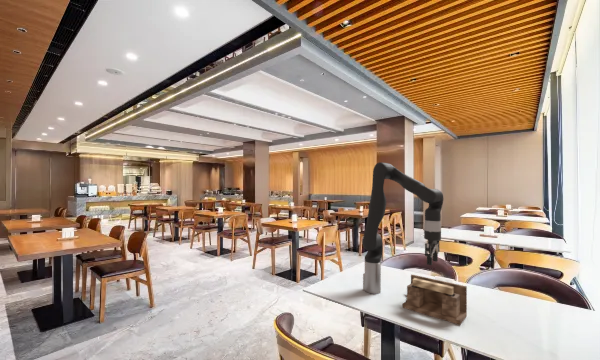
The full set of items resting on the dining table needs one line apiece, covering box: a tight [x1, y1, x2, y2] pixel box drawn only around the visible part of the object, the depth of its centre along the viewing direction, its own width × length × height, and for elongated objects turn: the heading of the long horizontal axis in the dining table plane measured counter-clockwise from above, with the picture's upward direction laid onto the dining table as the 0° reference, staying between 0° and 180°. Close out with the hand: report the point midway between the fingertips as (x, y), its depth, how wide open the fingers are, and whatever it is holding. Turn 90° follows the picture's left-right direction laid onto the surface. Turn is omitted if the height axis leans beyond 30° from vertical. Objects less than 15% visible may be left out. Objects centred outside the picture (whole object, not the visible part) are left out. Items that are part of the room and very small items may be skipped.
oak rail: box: [413, 278, 454, 297], centre depth 137 cm, size 18×3×8 cm, turn 48°
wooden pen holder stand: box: [402, 274, 468, 326], centre depth 138 cm, size 26×12×14 cm, turn 48°
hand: (432, 263), depth 138 cm, fingers open, 8 cm apart
